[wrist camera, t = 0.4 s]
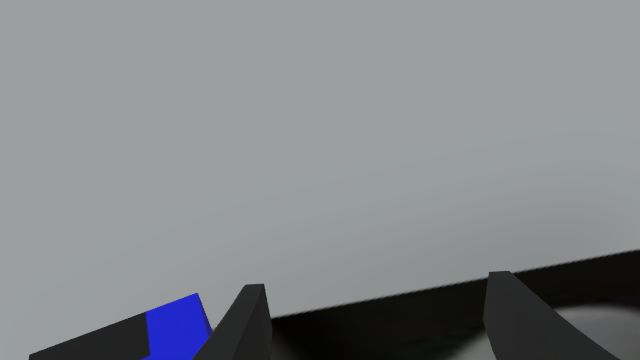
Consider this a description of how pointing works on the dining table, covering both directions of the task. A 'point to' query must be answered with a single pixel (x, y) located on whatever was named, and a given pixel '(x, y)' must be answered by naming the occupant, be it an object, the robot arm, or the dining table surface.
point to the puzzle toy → (141, 336)
